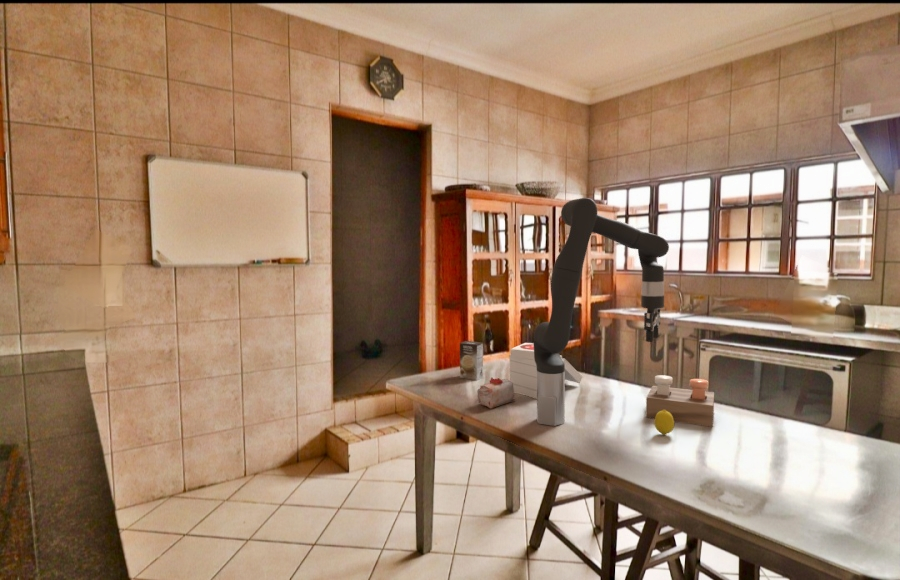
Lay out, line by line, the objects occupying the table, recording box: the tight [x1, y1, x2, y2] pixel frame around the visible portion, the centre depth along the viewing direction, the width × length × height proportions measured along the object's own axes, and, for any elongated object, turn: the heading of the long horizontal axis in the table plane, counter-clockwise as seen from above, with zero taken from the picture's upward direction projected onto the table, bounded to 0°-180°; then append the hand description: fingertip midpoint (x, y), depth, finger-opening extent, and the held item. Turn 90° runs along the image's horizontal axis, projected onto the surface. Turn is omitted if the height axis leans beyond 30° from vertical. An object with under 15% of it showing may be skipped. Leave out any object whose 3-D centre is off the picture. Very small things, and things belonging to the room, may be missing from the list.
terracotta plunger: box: [689, 378, 709, 400], centre depth 168 cm, size 6×6×8 cm
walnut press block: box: [645, 385, 715, 428], centre depth 171 cm, size 16×20×7 cm
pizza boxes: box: [508, 342, 583, 400], centre depth 206 cm, size 19×30×18 cm, turn 127°
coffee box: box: [459, 340, 484, 381], centre depth 225 cm, size 9×6×16 cm
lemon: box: [654, 410, 675, 436], centre depth 154 cm, size 6×6×8 cm
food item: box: [476, 377, 515, 409], centre depth 187 cm, size 14×8×10 cm, turn 130°
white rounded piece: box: [654, 374, 673, 396], centre depth 174 cm, size 6×6×8 cm
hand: (652, 339), depth 177 cm, fingers open, 8 cm apart
